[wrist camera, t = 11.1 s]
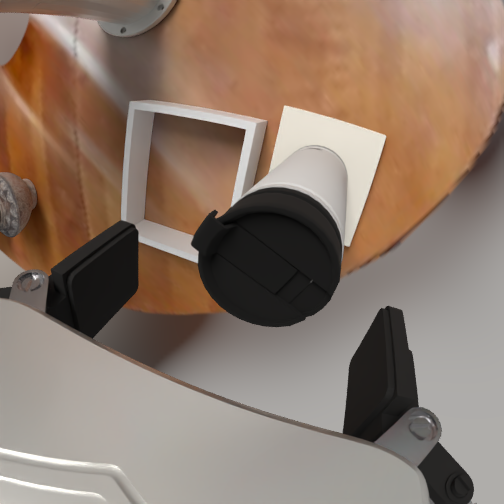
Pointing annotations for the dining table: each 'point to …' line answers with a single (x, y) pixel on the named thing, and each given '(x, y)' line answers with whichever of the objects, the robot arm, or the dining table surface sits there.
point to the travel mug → (279, 242)
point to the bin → (139, 160)
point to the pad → (343, 144)
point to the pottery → (15, 203)
